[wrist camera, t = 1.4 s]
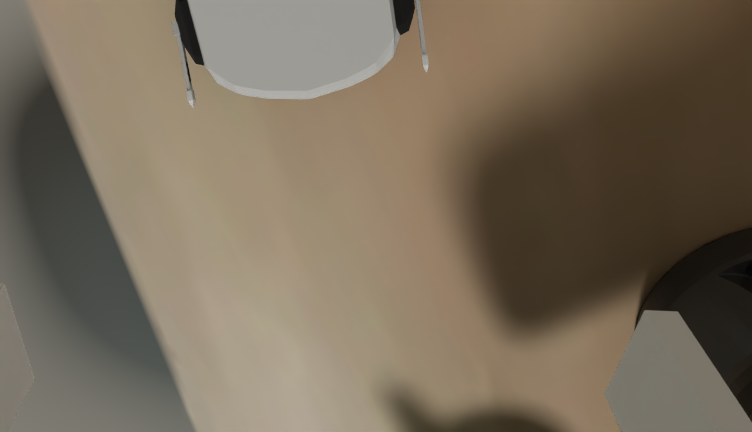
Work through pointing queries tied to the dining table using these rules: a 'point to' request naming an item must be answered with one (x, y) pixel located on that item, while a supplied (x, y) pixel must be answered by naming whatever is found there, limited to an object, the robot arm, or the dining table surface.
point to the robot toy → (291, 43)
